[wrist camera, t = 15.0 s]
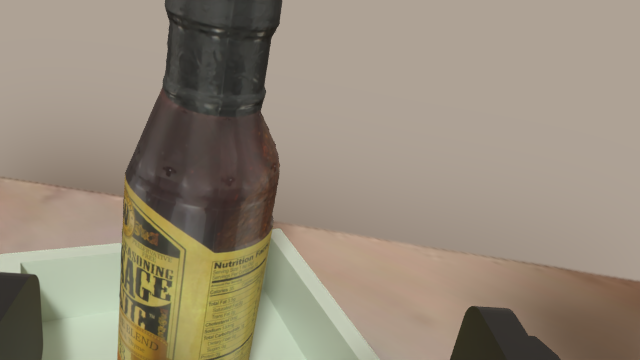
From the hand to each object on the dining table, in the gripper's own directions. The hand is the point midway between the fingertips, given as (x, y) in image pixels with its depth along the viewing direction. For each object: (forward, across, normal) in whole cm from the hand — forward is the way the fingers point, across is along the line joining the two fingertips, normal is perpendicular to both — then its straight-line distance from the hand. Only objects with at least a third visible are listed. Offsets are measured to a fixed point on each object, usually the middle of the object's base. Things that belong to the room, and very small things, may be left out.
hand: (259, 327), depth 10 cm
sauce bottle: (+13, +2, +15) cm, 20 cm away
